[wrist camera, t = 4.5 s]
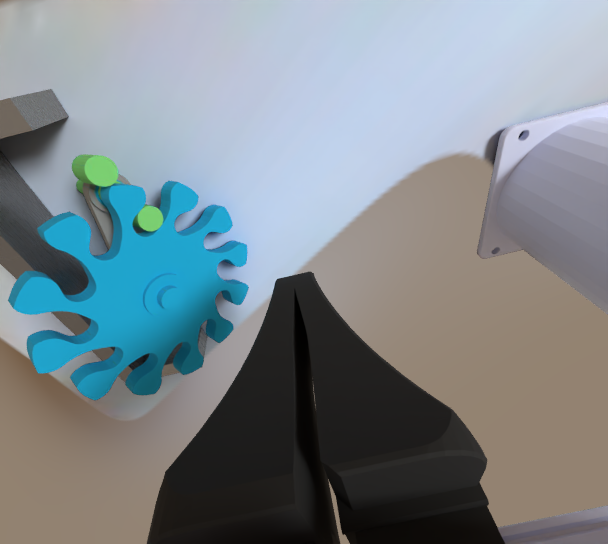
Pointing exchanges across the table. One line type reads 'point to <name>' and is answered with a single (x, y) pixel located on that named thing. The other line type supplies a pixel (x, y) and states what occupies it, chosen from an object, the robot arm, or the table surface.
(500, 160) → the robot arm
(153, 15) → the table surface
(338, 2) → the table surface
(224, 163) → the table surface
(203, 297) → the gear
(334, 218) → the table surface
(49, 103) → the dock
